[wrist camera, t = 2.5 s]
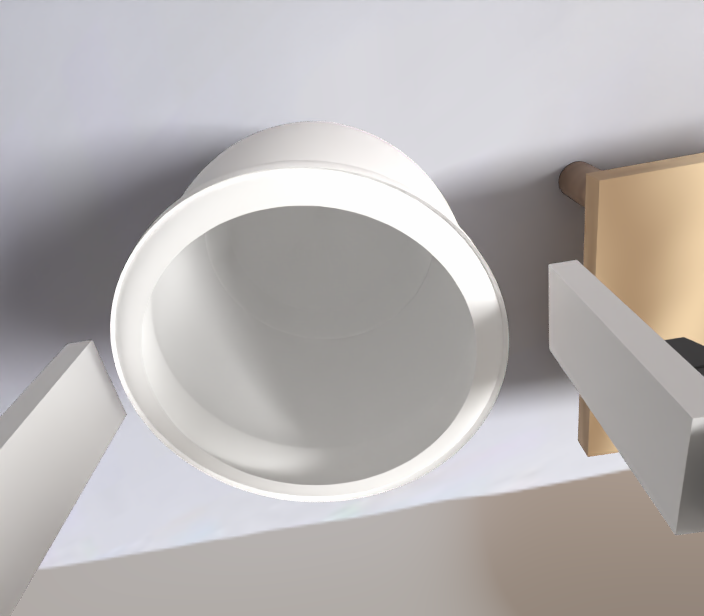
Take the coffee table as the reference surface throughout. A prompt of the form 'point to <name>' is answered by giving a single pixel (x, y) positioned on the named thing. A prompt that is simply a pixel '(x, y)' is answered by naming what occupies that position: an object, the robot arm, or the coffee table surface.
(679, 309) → the stool
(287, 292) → the jar
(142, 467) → the coffee table surface
